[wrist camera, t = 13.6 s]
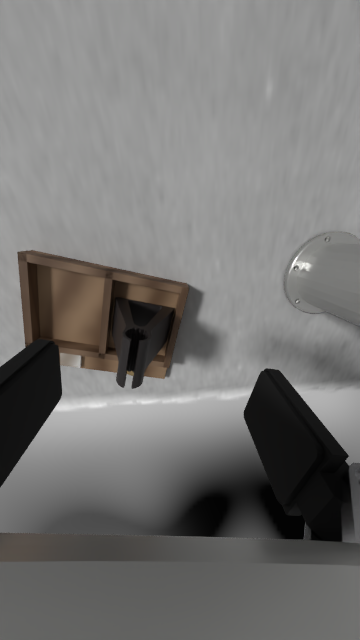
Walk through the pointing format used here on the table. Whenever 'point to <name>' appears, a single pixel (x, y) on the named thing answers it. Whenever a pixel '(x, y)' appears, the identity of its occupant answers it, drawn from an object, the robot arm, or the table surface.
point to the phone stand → (138, 336)
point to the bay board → (90, 308)
